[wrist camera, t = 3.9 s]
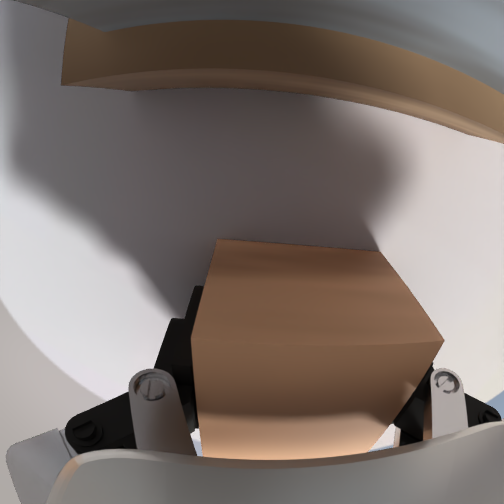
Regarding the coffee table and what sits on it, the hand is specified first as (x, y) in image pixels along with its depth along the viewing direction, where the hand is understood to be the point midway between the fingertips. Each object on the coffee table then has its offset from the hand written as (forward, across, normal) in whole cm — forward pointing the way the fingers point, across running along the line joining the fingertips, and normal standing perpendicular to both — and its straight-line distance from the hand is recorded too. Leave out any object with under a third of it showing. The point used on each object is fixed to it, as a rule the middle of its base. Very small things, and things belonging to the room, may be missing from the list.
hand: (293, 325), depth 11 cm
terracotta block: (+1, 0, 0) cm, 1 cm away
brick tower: (+1, 0, -14) cm, 14 cm away
